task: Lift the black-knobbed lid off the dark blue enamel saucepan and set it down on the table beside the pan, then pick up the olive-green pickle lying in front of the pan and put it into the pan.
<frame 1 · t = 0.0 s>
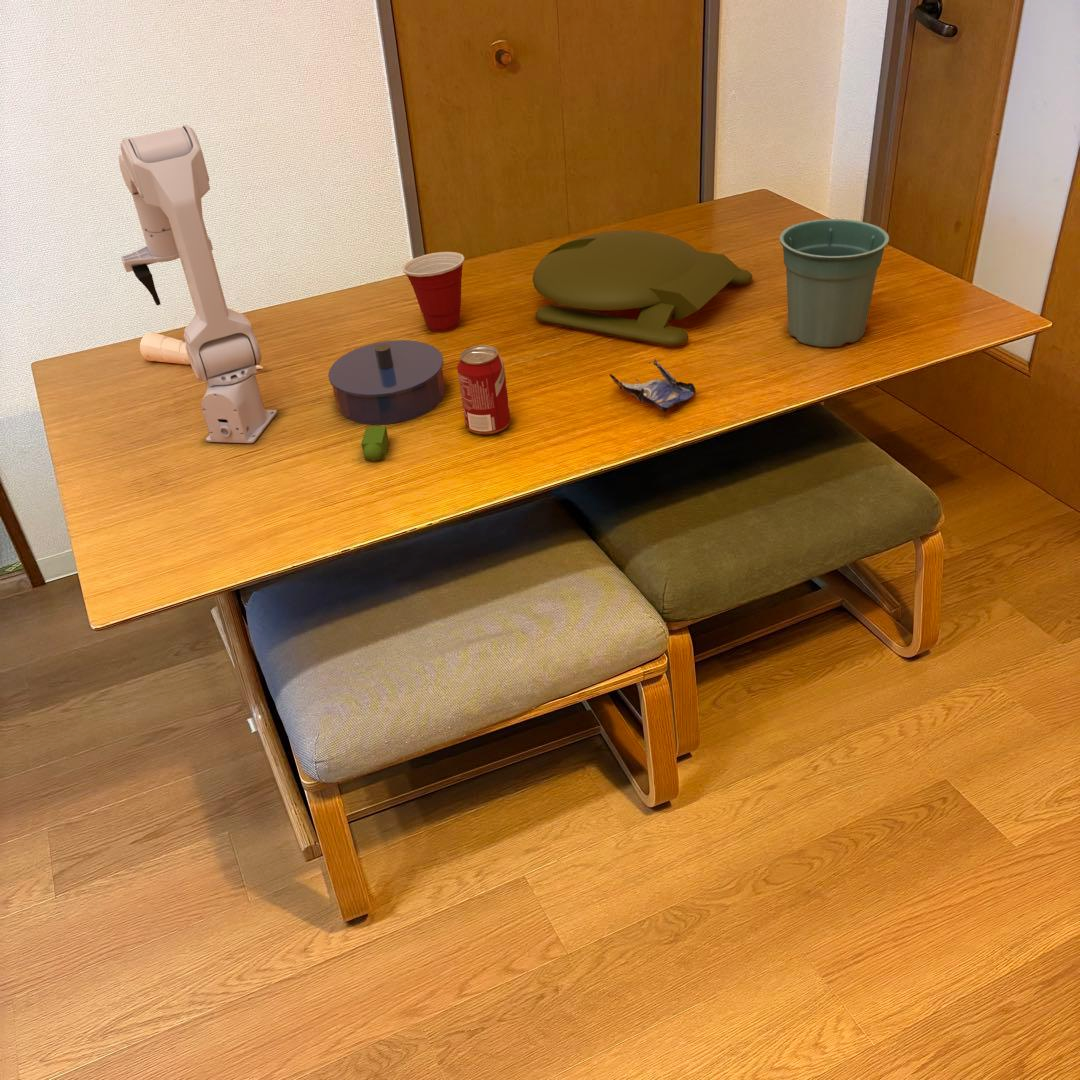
hand: (179, 296, 187), 11 cm above the table, tool pointing down, fingers open, 7 cm apart
plastic cup: (442, 326, 193), on the table
pan: (391, 397, 173), on the table
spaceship: (630, 300, 195), on the table
snack package: (654, 400, 165), on the table
soda can: (488, 427, 163), on the table
flower pot: (826, 332, 178), on the table
unicorn horn: (203, 364, 189), on the table
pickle: (377, 451, 160), on the table
pan lid: (386, 368, 170), point 5 cm above the table, touching pan
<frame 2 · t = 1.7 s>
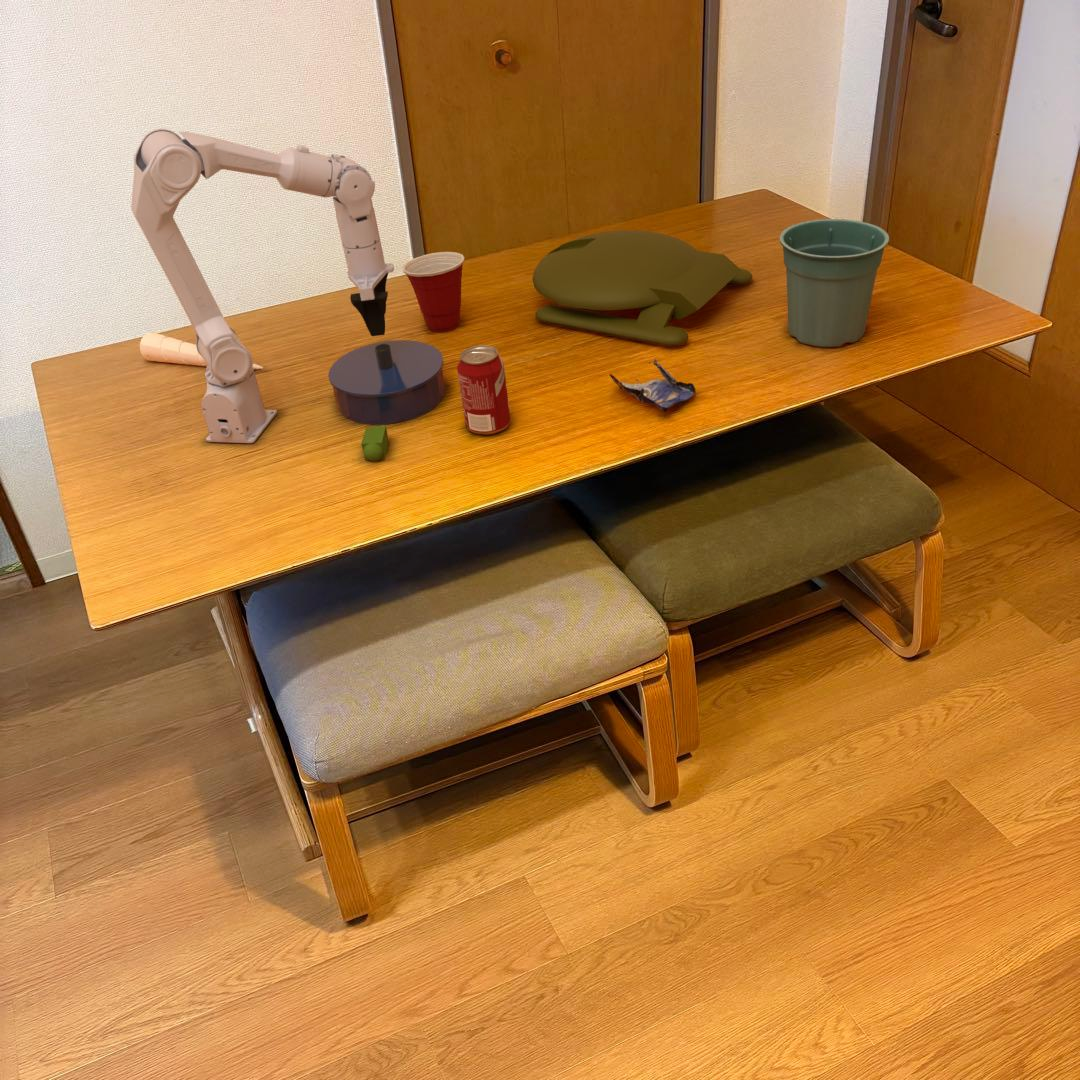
hand: (378, 324, 172), 10 cm above the table, tool pointing down, fingers open, 7 cm apart
nothing on the table moved.
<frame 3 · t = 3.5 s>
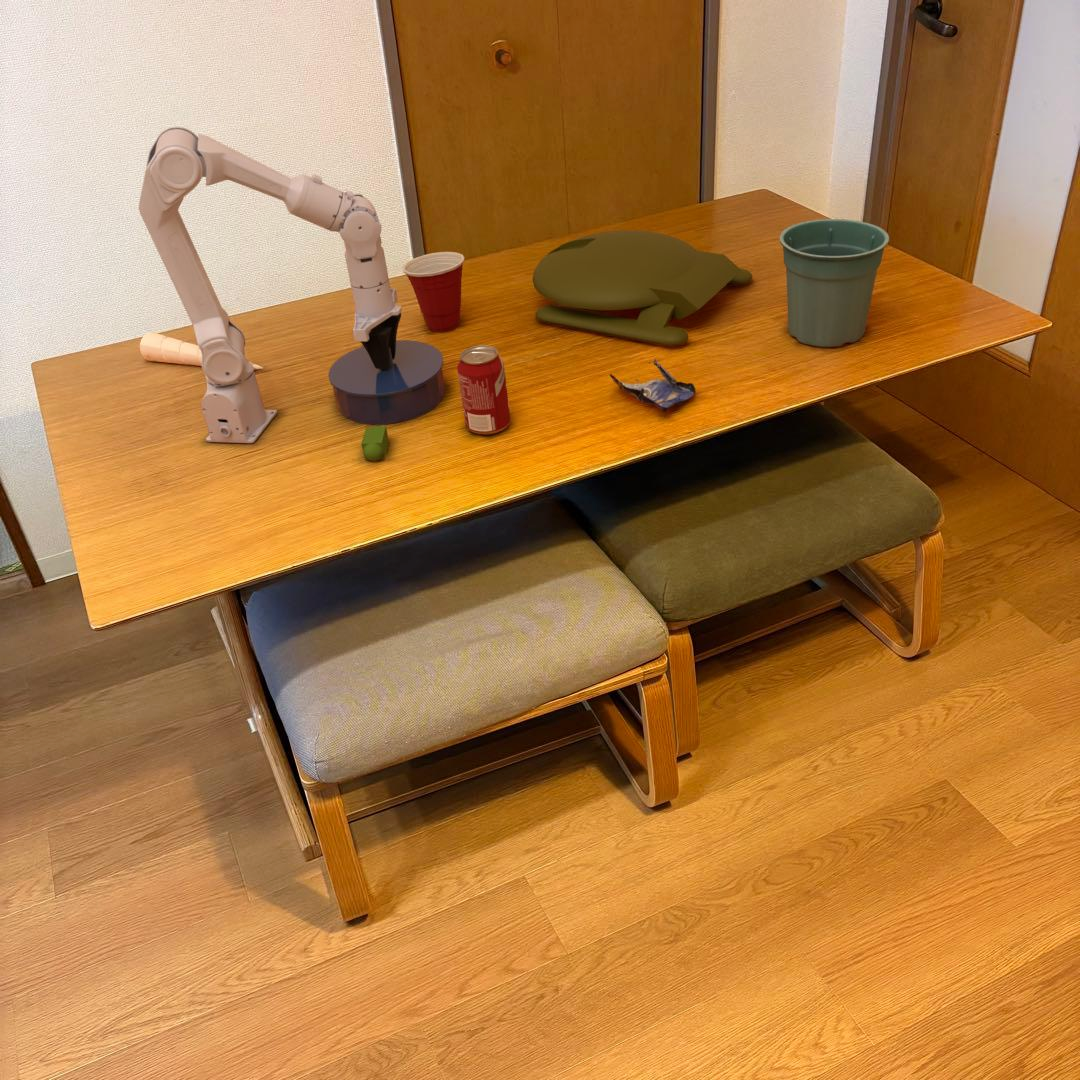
hand: (385, 363, 170), 6 cm above the table, tool pointing down, fingers closed on pan lid, 2 cm apart
pan lid: (386, 368, 170), point 5 cm above the table, touching gripper, pan
everything else where it was.
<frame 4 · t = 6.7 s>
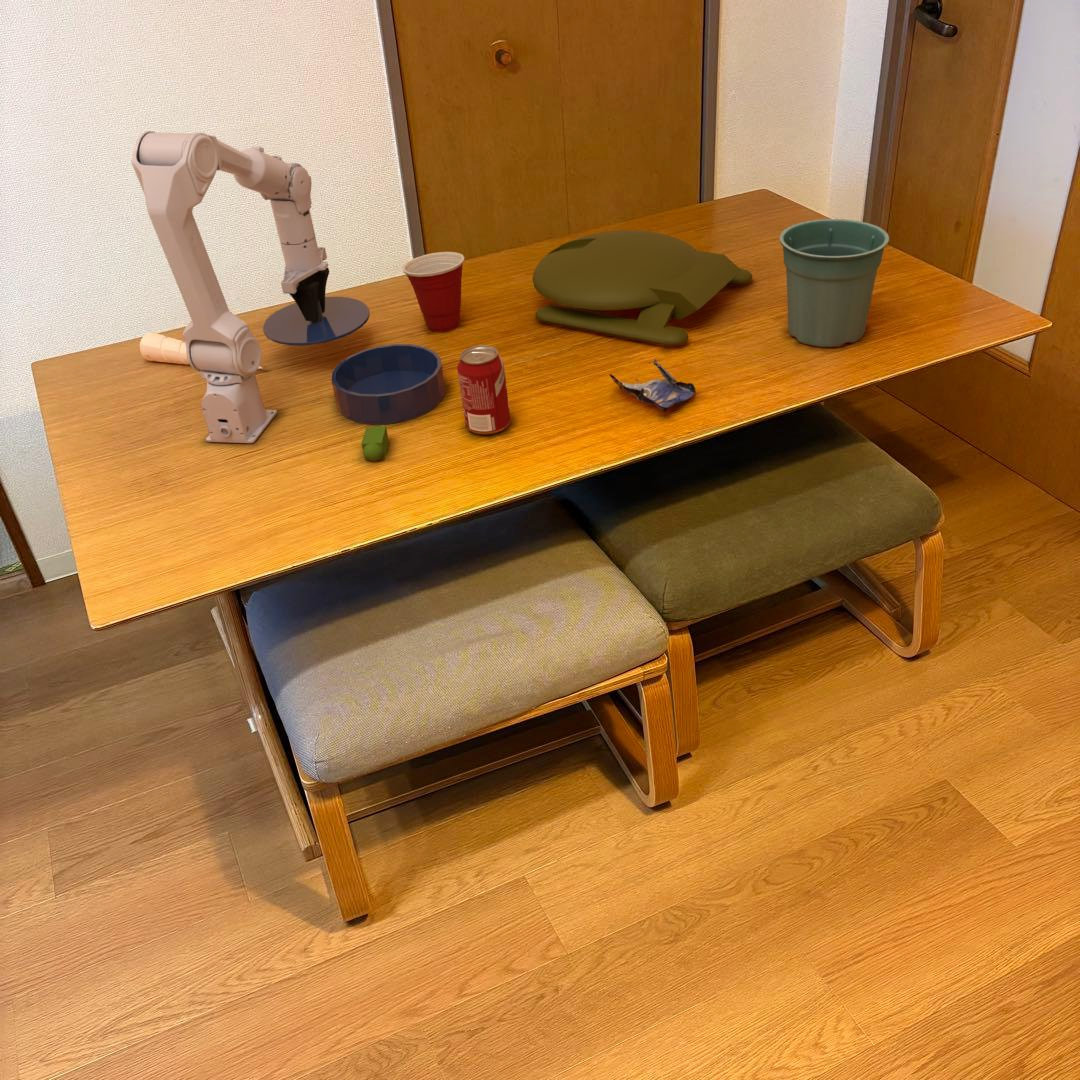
hand: (315, 316, 183), 7 cm above the table, tool pointing down, fingers closed on pan lid, 2 cm apart
pan lid: (316, 321, 184), point 6 cm above the table, touching gripper
everything else where it was.
when the fingers open (2 cm above the table, at t = 8.1 s): pan lid stays where it is, point 1 cm above the table.
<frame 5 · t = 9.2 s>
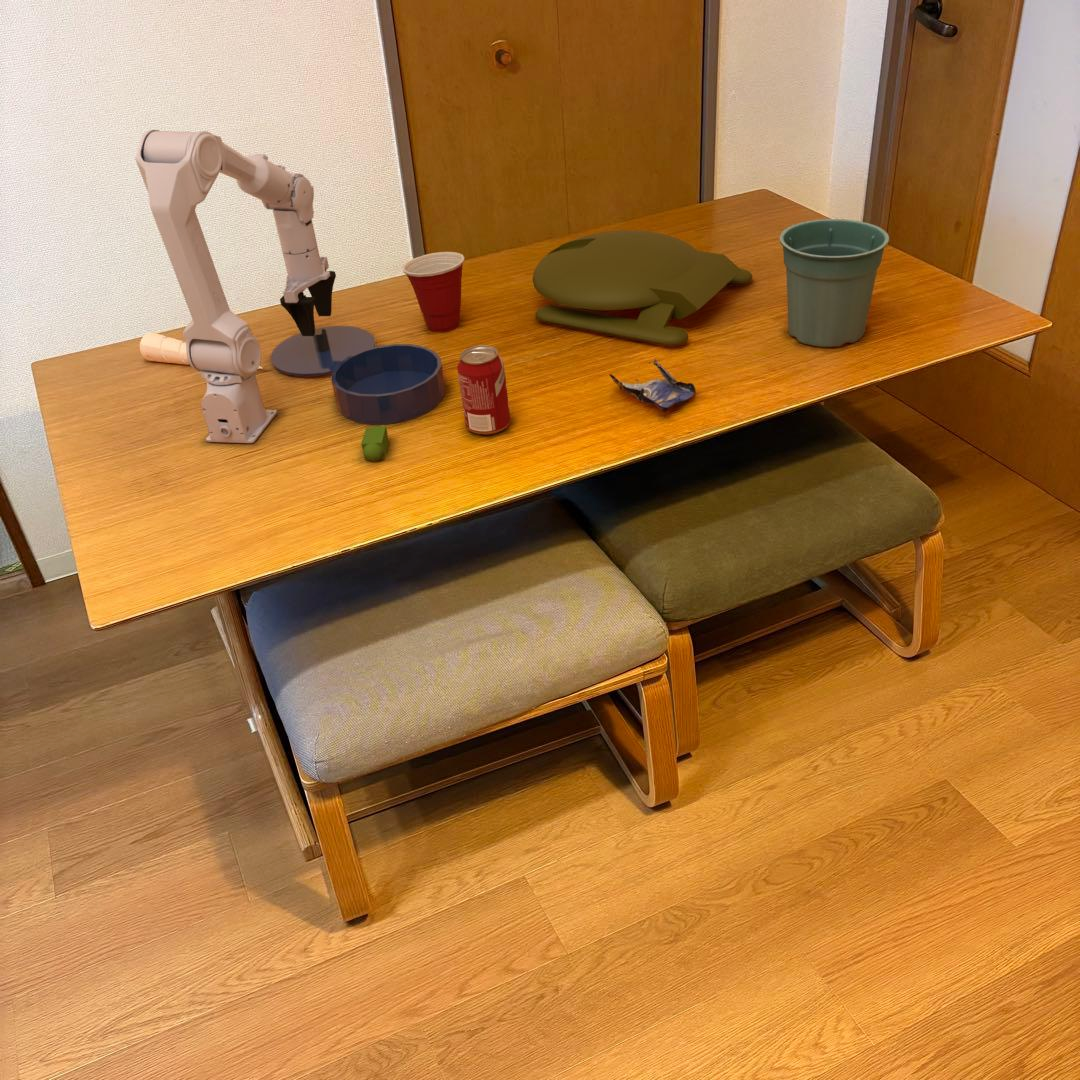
hand: (316, 325, 184), 6 cm above the table, tool pointing down, fingers open, 7 cm apart
pan lid: (323, 351, 187), point 1 cm above the table
everything else where it was.
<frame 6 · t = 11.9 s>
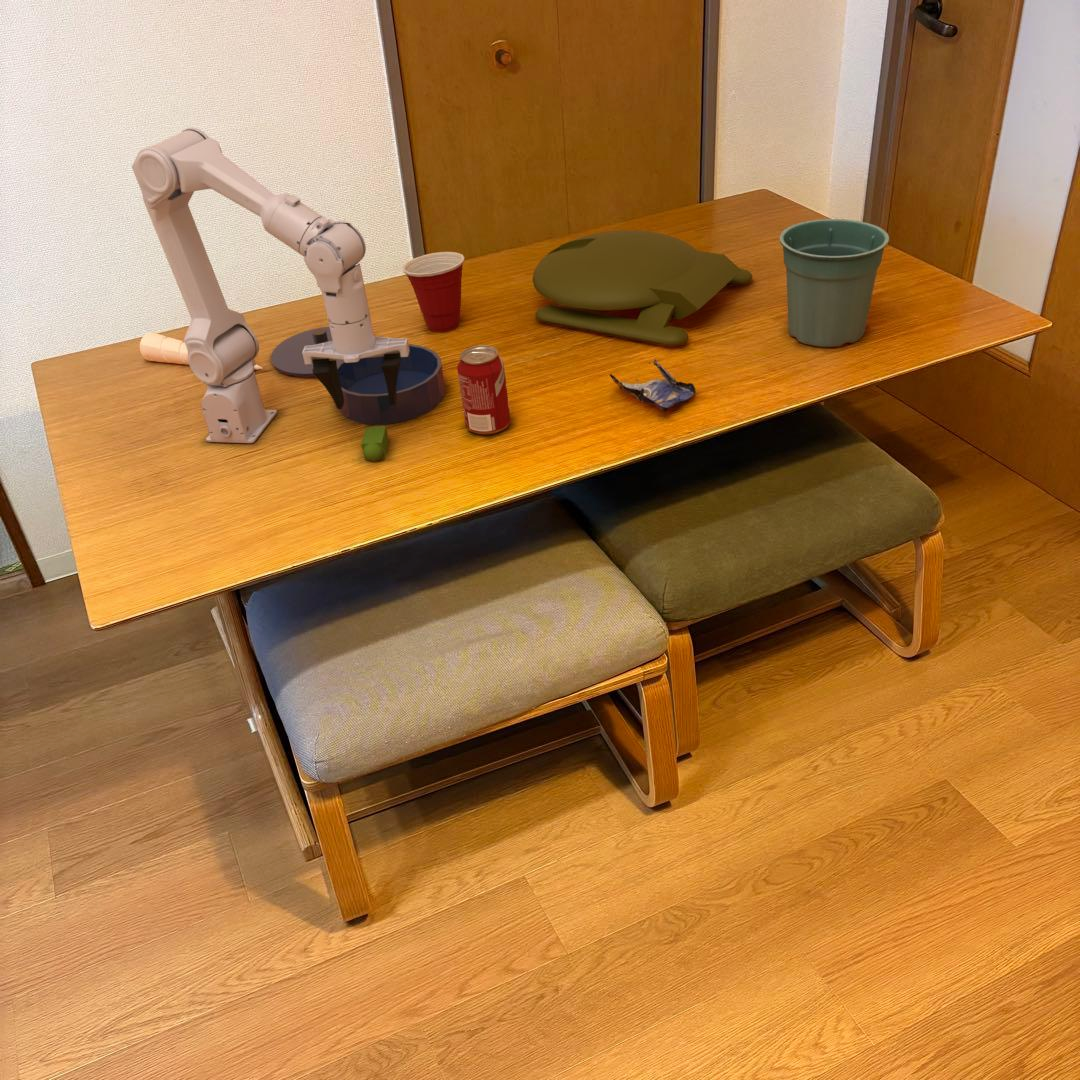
hand: (367, 403, 156), 8 cm above the table, tool pointing down, fingers open, 7 cm apart
nothing on the table moved.
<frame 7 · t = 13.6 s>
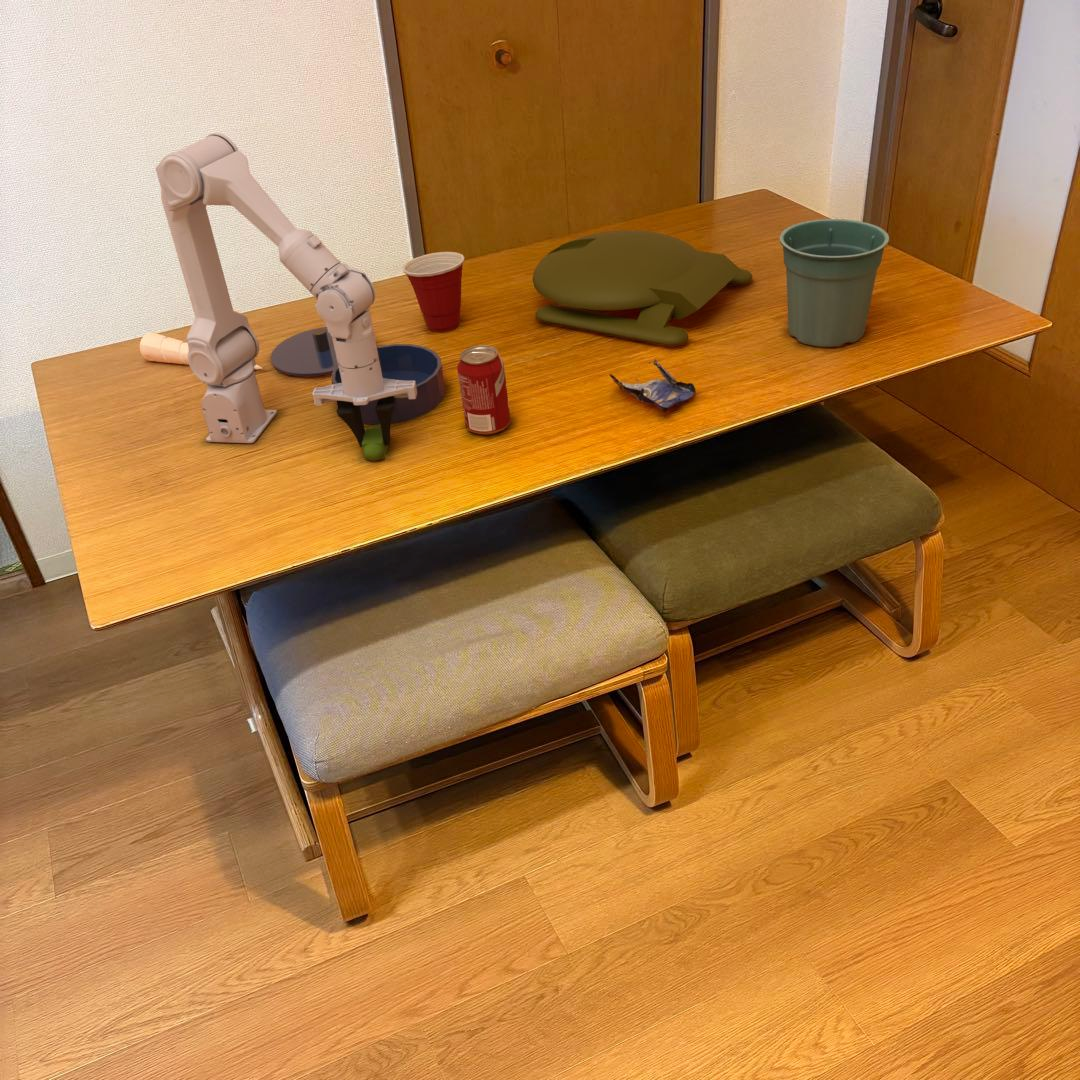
hand: (375, 443, 159), 1 cm above the table, tool pointing down, fingers closed on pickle, 3 cm apart
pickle: (377, 451, 160), on the table, touching gripper
everything else where it was.
when the fingers open (3 cm above the table, at t = 18.1 s): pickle stays where it is, resting on pan.
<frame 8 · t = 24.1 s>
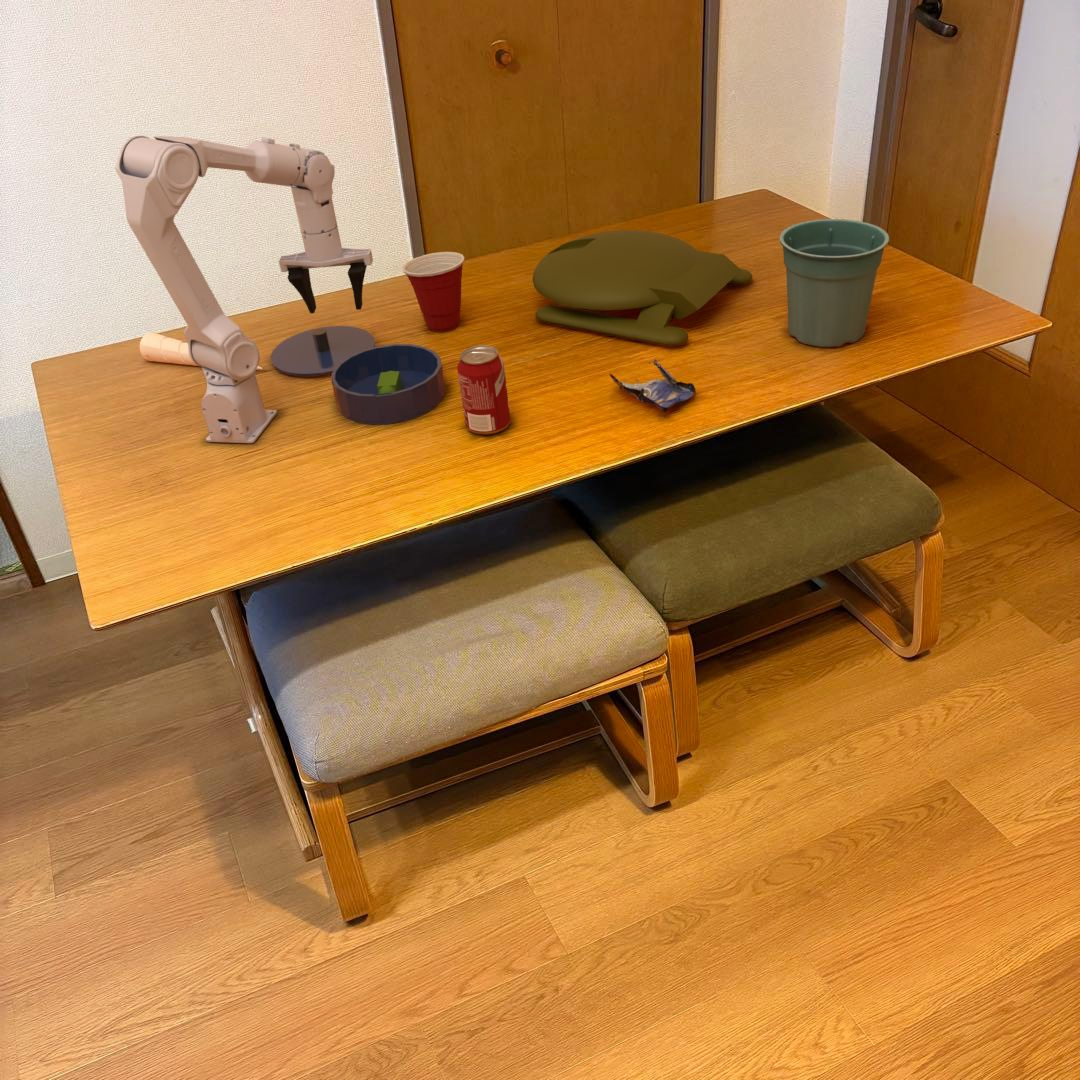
hand: (336, 308, 177), 10 cm above the table, tool pointing down, fingers open, 7 cm apart
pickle: (391, 394, 173), point 1 cm above the table, touching pan
everything else where it was.
at the end: pan lid inside the target area (0.0 cm from its centre), point 0.6 cm above the table; pan lid tilted 0°; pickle inside the target area in the pan (0.0 cm from its centre), point 0.5 cm above the pan's base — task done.
